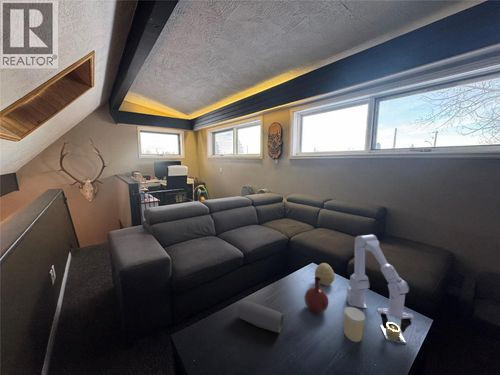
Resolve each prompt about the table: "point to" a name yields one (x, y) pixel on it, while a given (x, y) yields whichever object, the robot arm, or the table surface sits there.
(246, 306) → the bluetooth speaker
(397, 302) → the robot arm
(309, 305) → the round-bottom flask
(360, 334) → the coffee cup
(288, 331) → the table surface
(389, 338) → the shaft block
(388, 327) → the collar
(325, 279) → the fossilized egg
